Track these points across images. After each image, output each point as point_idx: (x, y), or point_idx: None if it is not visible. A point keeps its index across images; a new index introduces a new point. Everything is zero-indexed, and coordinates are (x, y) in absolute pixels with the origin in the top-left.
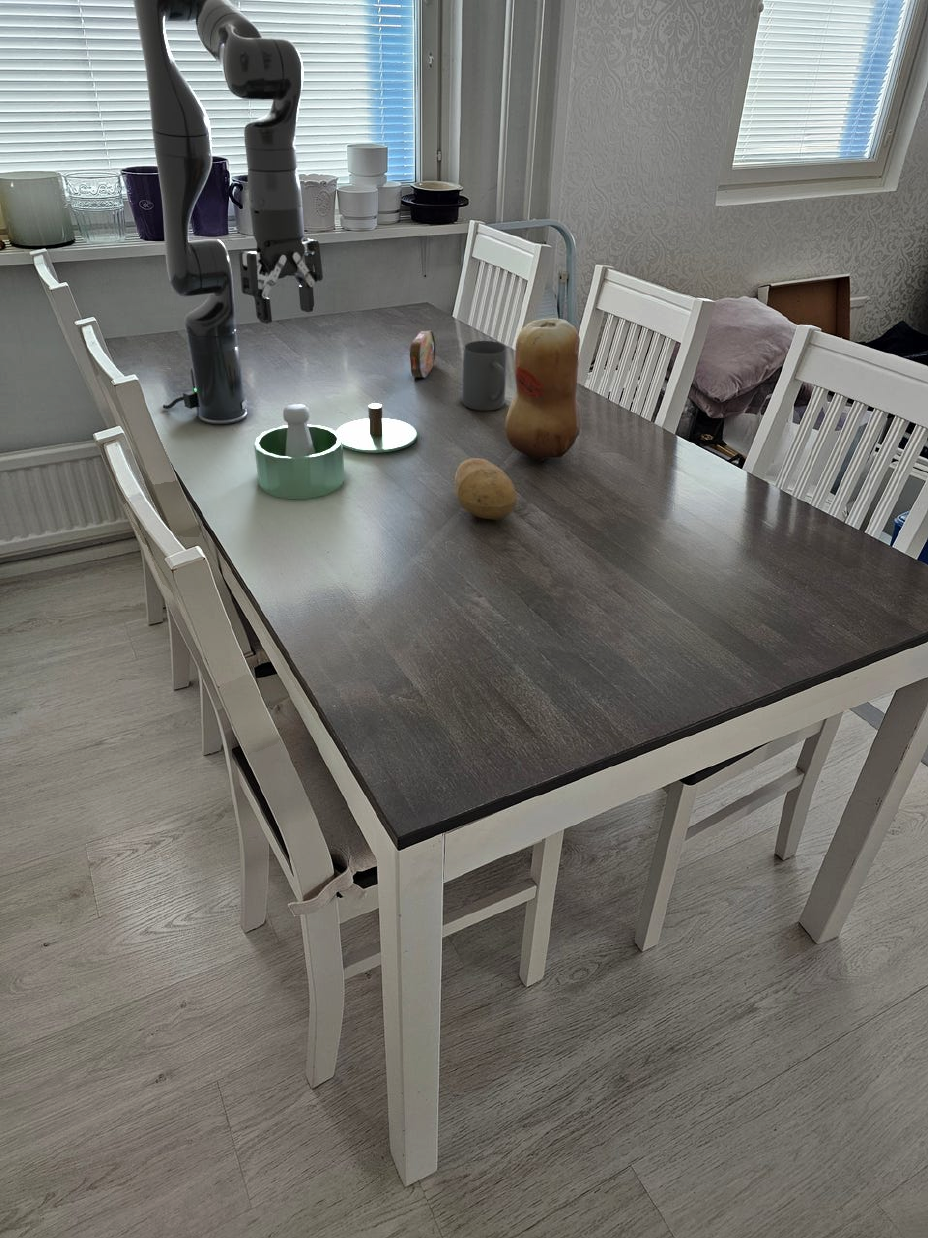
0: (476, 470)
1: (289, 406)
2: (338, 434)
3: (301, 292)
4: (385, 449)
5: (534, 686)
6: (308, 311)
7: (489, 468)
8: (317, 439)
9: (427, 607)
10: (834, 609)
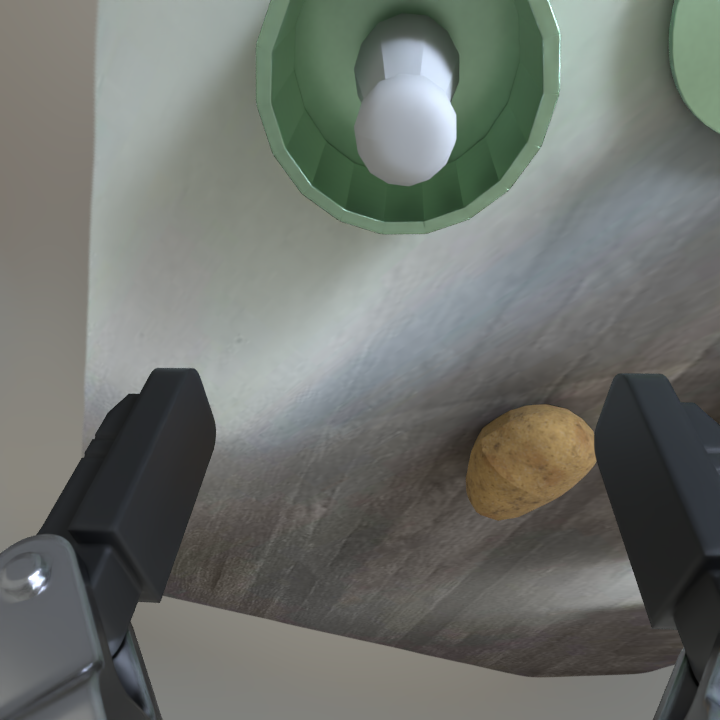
0: (519, 487)
1: (391, 119)
2: (527, 161)
3: (662, 520)
4: (703, 122)
5: (254, 574)
6: (594, 436)
7: (540, 496)
8: (532, 33)
9: (261, 485)
10: (527, 653)
